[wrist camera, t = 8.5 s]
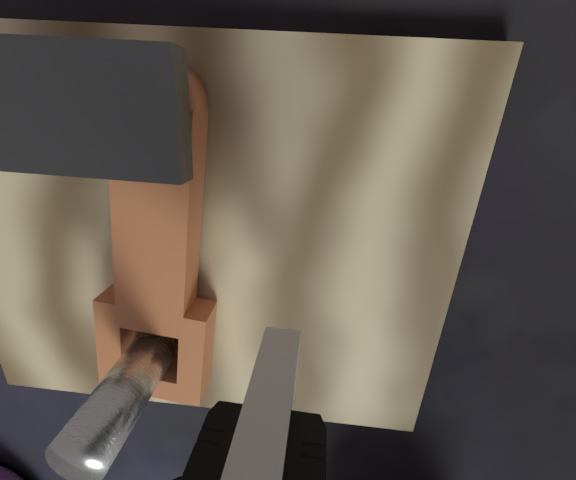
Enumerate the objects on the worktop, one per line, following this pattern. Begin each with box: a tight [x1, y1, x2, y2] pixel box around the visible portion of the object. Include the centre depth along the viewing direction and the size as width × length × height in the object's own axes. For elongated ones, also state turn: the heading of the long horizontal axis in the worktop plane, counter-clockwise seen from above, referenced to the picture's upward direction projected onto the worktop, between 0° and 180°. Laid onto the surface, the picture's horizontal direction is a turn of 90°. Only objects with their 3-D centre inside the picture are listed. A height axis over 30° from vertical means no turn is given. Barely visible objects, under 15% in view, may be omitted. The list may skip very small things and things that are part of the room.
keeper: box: [0, 33, 194, 185], centre depth 13 cm, size 9×4×5 cm, turn 87°
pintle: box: [45, 332, 178, 480], centre depth 16 cm, size 2×2×8 cm
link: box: [92, 67, 217, 406], centre depth 16 cm, size 18×6×2 cm, turn 171°
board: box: [0, 18, 524, 432], centre depth 18 cm, size 28×22×1 cm
